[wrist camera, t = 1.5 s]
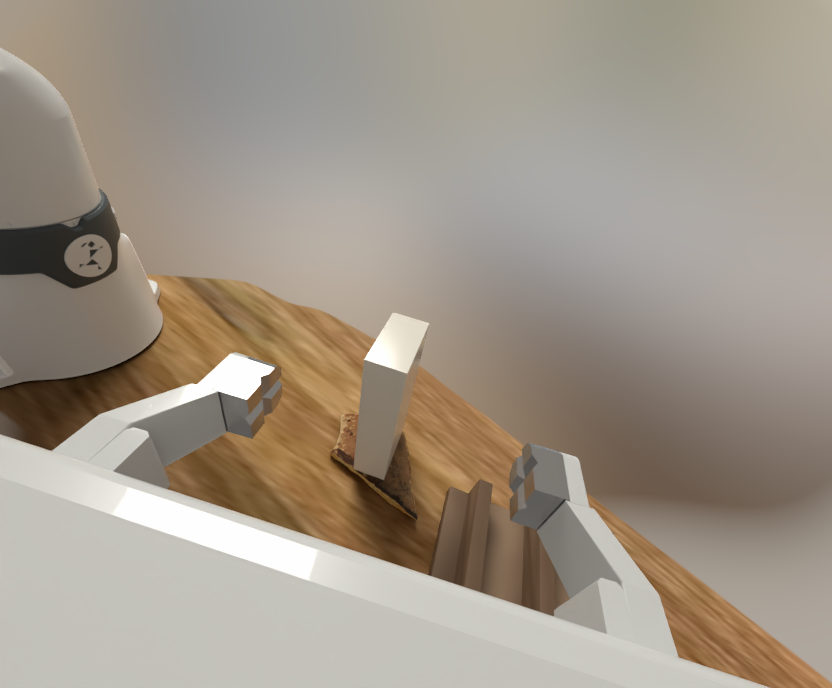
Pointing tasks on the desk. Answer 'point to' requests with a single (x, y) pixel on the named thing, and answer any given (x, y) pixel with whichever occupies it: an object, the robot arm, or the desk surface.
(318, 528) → the desk surface
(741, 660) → the desk surface
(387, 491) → the shard
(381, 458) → the clay bar
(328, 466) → the desk surface
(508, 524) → the drying rack
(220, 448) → the desk surface
